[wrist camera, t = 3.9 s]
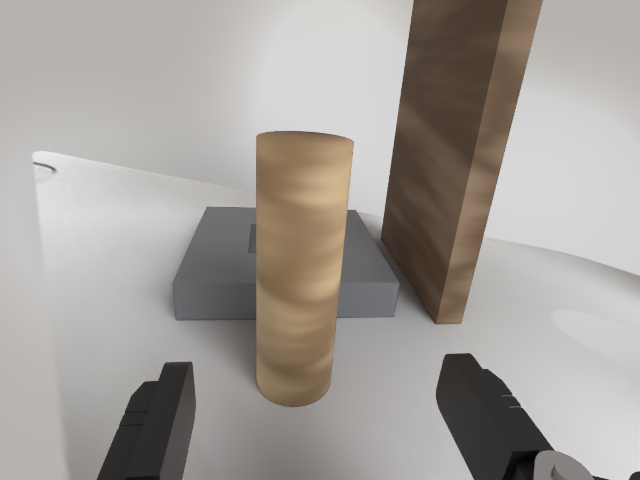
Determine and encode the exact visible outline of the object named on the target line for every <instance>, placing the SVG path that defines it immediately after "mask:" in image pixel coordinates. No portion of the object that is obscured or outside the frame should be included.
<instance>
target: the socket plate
mask: <svg viewBox="0 0 640 480" xmlns="http://www.w3.org/2000/svg"><path fill="white" fill-rule="evenodd" d="M251 252H254V253H251ZM398 289H399V281H398V279H397V278H396V276H395V274H394V273H393V271H392V269H391V268H390V266H389V264H388V263H387V261H386V259H385V258H384V256H383V255H382V253H381V251H380V250H379V248H378V246H377V245H376V243H375V241H374V240H373V238H372V236H371V235H370V233H369V231H368V230H367V228H366V227H365V225H364V223H363V222H362V220H361V218H360V217H359V215H358V213H357V212H356V210H347V217H346V227H345V237H344V248H343V258H342V268H341V278H340V288H339V299H338V309H337V318H347V317H394V313H395V307H396V301H397V295H398ZM173 293H174V303H175V313H176V320H215V319H256V208H241V207H207V208H206V210H205V212H204V214H203V216H202V219H201V221H200V223H199V225H198V228H197V230H196V232H195V234H194V237H193V239H192V241H191V243H190V245H189V248H188V250H187V252H186V254H185V257H184V259H183V261H182V263H181V266H180V268H179V270H178V272H177V274H176V277H175V279H174V281H173Z"/></svg>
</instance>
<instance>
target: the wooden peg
mask: <svg viewBox="0 0 640 480" xmlns="http://www.w3.org/2000/svg"><path fill="white" fill-rule="evenodd" d="M353 145H354V142H353V141H352V140H351V139H348V138H345V137H341V136H337V135H331V134H325V133H316V132H303V131H275V132H266V133H261V134H259V135H257V137H256V380H257V386H258V388H259V390H260V392H261V393H262V394H263V395H264V396H265V397H266V398H267V399H269V400H270V401H272V402H274V403H276V404H279V405H283V406H290V407H297V406H304V405H308V404H311V403H313V402H315V401H317V400H319V399H320V398H321V397H323V396H324V394H325V393H326V392H327V390H328V388H329V386H330V380H331V370H332V360H333V350H334V339H335V329H336V319H337V309H338V299H339V288H340V278H341V268H342V258H343V248H344V237H345V227H346V217H347V207H348V197H349V186H350V176H351V165H352V155H353Z"/></svg>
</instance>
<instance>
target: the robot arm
mask: <svg viewBox="0 0 640 480" xmlns="http://www.w3.org/2000/svg"><path fill="white" fill-rule="evenodd" d="M436 399H437V404H438V408H439V410H440V412H441V414H442V416H443V418H444V420H445V422H446V424H447V426H448V428H449V430H450V432H451V434H452V436H453V438H454V440H455V442H456V444H457V446H458V448H459V450H460V452H461V454H462V456H463V458H464V460H465V462H466V464H467V466H468V468H469V470H470V472H471V474H472V476H473V478H474V480H608V479H604V478H600V477H595V476H592V475H591V474H590V472H589V471H588V470H587V469H586V468H585V467H584V466H583V465H582V464H581V463H579V462H578V461H576V460H575V459H573V458H572V457H570V456H568V455H566V454H564V453H561V452H557V451H555V450H554V449H553V448H552V447H551V445H550V444H549V443H548V441H547V440H546V438H545V437H544V436H543V434H542V433H541V432H540V430H539V429H538V428H537V426H536V425H535V424H534V422H533V421H532V420H531V418H530V417H529V416H528V414H527V413H526V412H525V410H524V409H523V408H521V405H520V404H519V402H518V401H517V400H516V398H515V397H513V396H512V393H511V392H510V390H509V389H508V388H507V386H506V385H505V383H504V382H503V381H502V380H501V379H500V378H498V377H497V376H496V375H495V374H493V373H492V372H491V371H489V370H488V369H482V368H481V366H480V365H479V364H478V362H477V361H476V359H475V358H474V357H473V356H472V355H471V354H469V353H464V354H447V355H445V357H444V360H443V364H442V368H441V372H440V376H439V380H438V385H437V389H436ZM195 408H196V399H195V387H194V376H193V365H192V362H166V363H165V364H164V366H163V369H162V372H161V375H160V378H159V380H158V381H147V382H144V383H143V384H142V385H141V386H140V387H139V388H138V389H137V390H136V391H135V393H134V394H133V395H132V396H131V398H130V401H129V403H128V405H127V408H126V410H125V415H123V417H122V420H121V422H120V425H119V429H118V430H117V432H116V434H115V437H114V439H113V442H112V444H111V446H110V449H109V451H108V454H107V456H106V459H105V461H104V463H103V466H102V468H101V471H100V473H99V475H98V478H97V480H182V477H183V472H184V467H185V463H186V458H187V453H188V448H189V443H190V439H191V434H192V429H193V424H194V419H195ZM629 480H640V471H639V472H635V473H633V474H632V475H631V476H630V478H629Z"/></svg>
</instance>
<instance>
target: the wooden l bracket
mask: <svg viewBox="0 0 640 480" xmlns="http://www.w3.org/2000/svg"><path fill="white" fill-rule="evenodd" d="M542 2H543V0H414V3H413V10H412V17H411V25H410V32H409V39H408V46H407V54H406V61H405V68H404V75H403V82H402V89H401V97H400V104H399V111H398V119H397V125H396V133H395V140H394V147H393V154H392V161H391V169H390V176H389V183H388V190H387V197H386V205H385V213H384V219H383V226H382V233H381V240H382V242H383V243H384V245H385V246H386V248H387V249H388V251H389V252H390V254H391V255H392V257H393V259H394V260H395V262H396V263H397V265H398V266H399V268H400V269H401V271H402V272H403V274H404V275H405V277H406V278H407V280H408V282H409V283H410V285H411V286H412V288H413V289H414V291H415V292H416V294H417V295H418V297H419V298H420V300H421V301H422V303H423V305H424V306H425V308H426V309H427V311H428V312H429V314H430V315H431V317H432V318H433V320H434V321H435V323H436V324H461V322H462V318H463V314H464V310H465V306H466V302H467V298H468V295H469V291H470V287H471V283H472V279H473V275H474V271H475V267H476V263H477V259H478V255H479V251H480V247H481V243H482V239H483V235H484V231H485V227H486V223H487V219H488V215H489V211H490V207H491V204H492V200H493V196H494V192H495V188H496V184H497V180H498V176H499V172H500V168H501V164H502V160H503V156H504V152H505V148H506V144H507V140H508V136H509V132H510V128H511V124H512V120H513V116H514V112H515V109H516V105H517V101H518V96H519V92H520V89H521V85H522V81H523V77H524V73H525V69H526V65H527V61H528V57H529V53H530V49H531V45H532V41H533V37H534V33H535V29H536V25H537V22H538V17H539V14H540V10H541V6H542Z"/></svg>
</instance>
